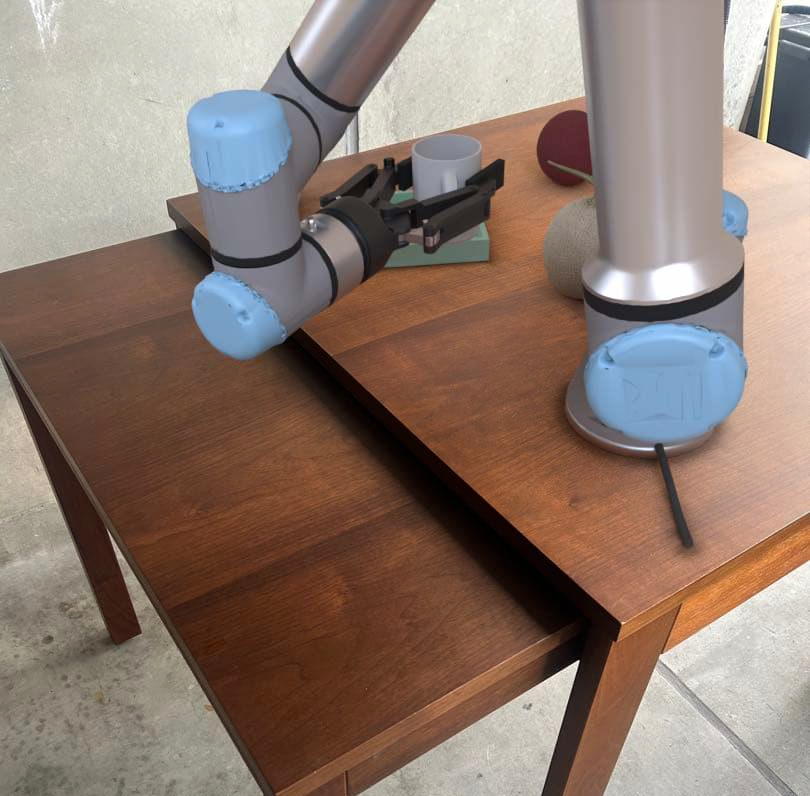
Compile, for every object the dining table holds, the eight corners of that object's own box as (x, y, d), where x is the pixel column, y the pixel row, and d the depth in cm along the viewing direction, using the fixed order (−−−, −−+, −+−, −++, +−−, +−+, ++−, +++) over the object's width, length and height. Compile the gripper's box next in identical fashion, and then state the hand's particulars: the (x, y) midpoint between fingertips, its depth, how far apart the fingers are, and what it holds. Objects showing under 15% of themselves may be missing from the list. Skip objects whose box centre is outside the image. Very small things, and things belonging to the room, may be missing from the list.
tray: (489, 260, 114) (489, 239, 112) (348, 270, 113) (346, 248, 111) (472, 206, 126) (473, 185, 123) (345, 214, 125) (343, 194, 123)
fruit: (644, 308, 104) (667, 185, 94) (552, 319, 103) (563, 195, 93) (616, 267, 111) (634, 148, 101) (529, 276, 111) (538, 157, 100)
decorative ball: (568, 202, 125) (575, 130, 118) (520, 181, 131) (524, 111, 123) (615, 182, 129) (625, 112, 122) (566, 163, 135) (573, 94, 128)
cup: (476, 214, 97) (478, 132, 91) (486, 256, 90) (489, 170, 84) (412, 218, 97) (409, 136, 91) (417, 260, 90) (414, 174, 84)
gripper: (426, 238, 73) (556, 146, 85) (246, 187, 81) (388, 110, 94) (428, 317, 78) (549, 219, 91) (259, 261, 87) (391, 179, 100)
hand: (467, 164), depth 92 cm, fingers closed on cup, 8 cm apart
